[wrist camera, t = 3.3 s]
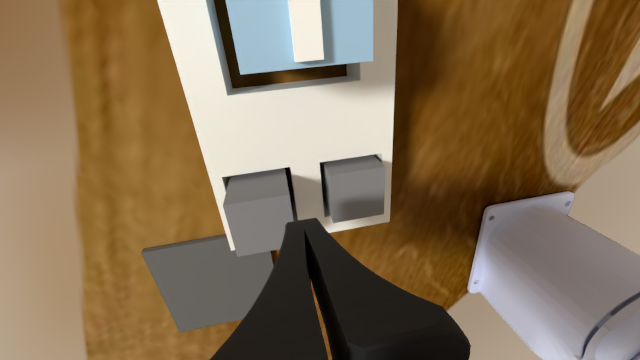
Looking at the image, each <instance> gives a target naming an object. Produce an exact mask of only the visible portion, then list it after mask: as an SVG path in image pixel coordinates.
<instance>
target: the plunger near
mask: <svg viewBox="0 0 640 360" xmlns="http://www.w3.org/2000/svg"><path fill="white" fill-rule="evenodd" d="M223 208H224V212H225V215H226V219H227V222H228V226H229V229H230V233H231V236H232V240H233V243H234V247H235V250H236V254H237V257H240V256H245V255H251V254H256V253H261V252H267V251H272V250H277V249H280V248H281V245H282V242H283V238H284V233H285V225H286V224H287V222H293V214H292V208H291V201H290V195H289V189H288V184H287V178H286V172H285V168H280V169H273V170H267V171H260V172H253V173H247V174H240V175H233V176H230V180H229V183H228V187H227V191H226V195H225V199H224V203H223Z"/></svg>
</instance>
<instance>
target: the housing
mask: <svg viewBox="0 0 640 360" xmlns="http://www.w3.org/2000/svg"><path fill="white" fill-rule="evenodd" d="M157 1H158V4H159V8H160V11H161V14H162V18H163V21H164V25H165V28H166V31H167V35H168V38H169V42H170V45H171V48H172V52H173V55H174V59H175V62H176V65H177V69H178V72H179V76H180V79H181V82H182V86H183V89H184V93H185V96H186V99H187V103H188V106H189V110H190V113H191V116H192V120H193V123H194V127H195V130H196V133H197V137H198V140H199V144H200V147H201V150H202V154H203V157H204V161H205V164H206V167H207V171H208V174H209V178H210V181H211V184H212V188H213V191H214V195H215V198H216V201H217V205H218V208H219V212H220V215H221V218H222V222H223V225H224V229H225V232H226V235H227V239H228V242H229V246H230V249H231V251H233V250H235V247H234V243H233V240H232V236H231V233H230V229H229V226H228V222H227V219H226V215H225V212H224V208H223V203H224V199H225V195H226V191H227V187H228V183H229V180H230V176H233V175H240V174H247V173H253V172H260V171H267V170H273V169H280V168H287V167H289V169H290V176H291V183H292V190H293V197H294V201H292V202H291V208H292V214H293V221H298V220H304V219H310V218H317V219H318V220H319V222H320V223H321V224H322V226H323V227H324V228H325V229H326V231H327V232H328V233H331V232H336V231H341V230H347V229H352V228H358V227H363V226H369V225H374V224H379V223H385V222H390V203H391V176H392V149H393V122H394V95H395V68H396V41H397V14H398V0H373V61H367V62H357V63H348V64H346V66H347V76H342V77H333V78H324V79H315V80H306V81H297V82H288V83H279V84H269V85H260V86H251V87H242V88H233V87H232V83H231V78H230V74H229V69H228V64H227V60H226V55H225V50H224V46H223V41H222V37H221V32H220V27H219V23H218V18H217V14H216V9H215V4H214V0H157ZM367 155H374V156H375V157H376V158H377V159H378V160H379V161H380V162H381V163H382V164H383V165H384V166H385V194H384V214H382V215H377V216H371V217H366V218H360V219H354V220H349V221H343V222H338V223H333V221H332V219H331V216H330V214H329V211H328V208H327V206H326V203H325V201H324V198H323V195H322V184H321V173H320V162H327V161H333V160H340V159H347V158H353V157H360V156H367Z"/></svg>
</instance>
